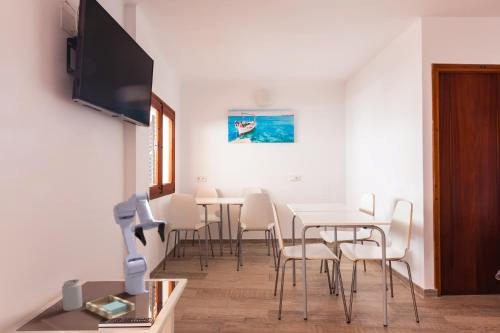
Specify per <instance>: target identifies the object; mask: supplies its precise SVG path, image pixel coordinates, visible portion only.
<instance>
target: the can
mask: <svg viewBox="0 0 500 333" xmlns="http://www.w3.org/2000/svg"><path fill="white" fill-rule="evenodd" d="M61 289H62V290H61V294H62V307H63V308H62V311H63V310H64V311H75V310H78V309H80V308H82V307H83V306H84V304H83V290H82V289H83V288H82V282H81V281H80V279H77V278H75V279H68V280H66V281H64V282H63V285H62V287H61Z"/></svg>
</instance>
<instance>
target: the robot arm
mask: <svg viewBox="0 0 500 333" xmlns="http://www.w3.org/2000/svg"><path fill="white" fill-rule="evenodd" d="M149 203H150V196H149V194H148V192H136V193H133V194H132V195H131V196H129V198H128V199H127V200H124V201H123V202H119V203H116V204H115V205H114V207H113V208H112V209H113V210H112V211H113V217H114V221H115V224H116V225H119V227H120V231H121V234H122V238H123V241H124V242H123V243H124V246H125V251H126V254H127V256H126V257H125V258H124V259H123V262H122V264H123V271H124V275H125V278H124V284H125V285H124V287H125V292H126V293H128V294H129V295H132V296H137V295H141V294H144V293H147V294H148V293H150V290H146V278H145V274H146V272H147V271H148V268H149V266H148V262H147V259H146V257H145V255H144V254H143V253H140V252H139V251H138V248H137V247H138V246H137V244H136V241H135V238H137V239H138V240H139V241H140V242H141V244H142V245H143V247H146V246H147V240H146V237H145V235H144V234H145V233H144V231H149V230H152V229H155V228H157V233H158V234H159V237H160V240H161V243H165V241H166V238H165V237H166V236H165V228H166V226H167V221H166V220H155V217H154V215H153V213H152V209H151V207H150V206H151V205H150V204H149ZM136 215H137V217H138V220H139V223H138V224H135V225H132V223H133V222H135V219H136Z"/></svg>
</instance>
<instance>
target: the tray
mask: <svg viewBox="0 0 500 333" xmlns="http://www.w3.org/2000/svg"><path fill="white" fill-rule="evenodd" d="M116 301H118V302H120V303H123V304H125V305H127V310H125V311H122V312H120V313H117V314H114V315H112V312H110V311H108V310H106V309H104V308H101V306H104V305H107V304H110V303H113V302H116ZM85 308H86V310H88V311H90V312H92V313H94V314H97V315H99V316H101V317H103V318H105V319H107V320H109V319H110V320H112V319H114V318H115V319H116V318H118V317H120V316H123V315H125V314H128V313H131V312H133V311H135V310H136V305H135V303H133V302H131V301H128V300H125V299H123V298H121V297H117V296H115V295H112V294H109V295H106V296H103V297H101V298H97V299H94V300H91V301H88V302H86V303H85Z"/></svg>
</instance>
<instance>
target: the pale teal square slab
mask: <svg viewBox="0 0 500 333" xmlns="http://www.w3.org/2000/svg"><path fill="white" fill-rule="evenodd" d="M101 308H104V309H106V310H108V311H110V312H112V315H114V314H117V313H120V312H122V311H125V310H127V305H125V304H123V303H120V302H118V301H116V302H113V303H110V304H107V305H104V306H101Z"/></svg>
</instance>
